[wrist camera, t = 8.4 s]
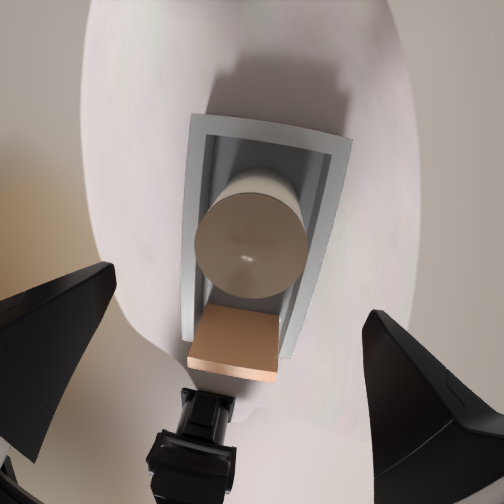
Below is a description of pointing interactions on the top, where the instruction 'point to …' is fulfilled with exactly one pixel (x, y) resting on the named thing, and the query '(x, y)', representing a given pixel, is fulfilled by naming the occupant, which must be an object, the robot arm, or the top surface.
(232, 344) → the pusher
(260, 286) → the cream brown-topped cylinder
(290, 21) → the top surface
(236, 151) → the grey tray
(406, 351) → the robot arm
